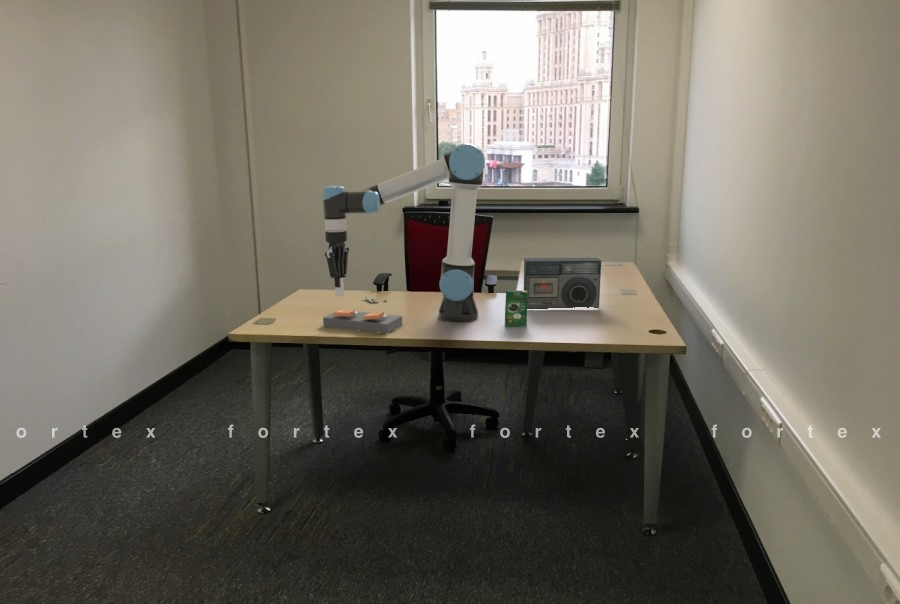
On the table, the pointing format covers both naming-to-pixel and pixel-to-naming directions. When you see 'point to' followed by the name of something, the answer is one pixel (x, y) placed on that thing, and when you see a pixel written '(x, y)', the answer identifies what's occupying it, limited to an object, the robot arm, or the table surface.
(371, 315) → the rocker
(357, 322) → the grey rectangular block
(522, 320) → the coffee box
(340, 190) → the robot arm
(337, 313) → the rocker
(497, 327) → the table surface
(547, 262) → the cassette player
